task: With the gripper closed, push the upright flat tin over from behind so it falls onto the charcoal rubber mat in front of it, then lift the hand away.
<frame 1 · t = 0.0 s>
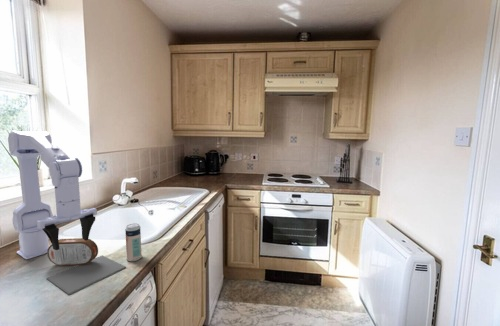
hand: (71, 244, 73), 10 cm above the worktop, tool pointing down, fingers open, 7 cm apart
tin: (73, 264, 80), on the worktop, touching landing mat
beer can: (134, 259, 84), on the worktop
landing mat: (87, 273, 75), on the worktop
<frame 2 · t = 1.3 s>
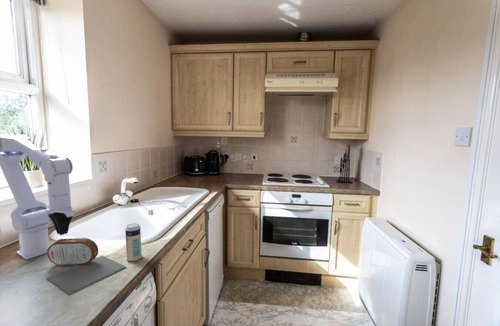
hand: (62, 233, 82), 9 cm above the worktop, tool pointing down, fingers closed
nothing on the worktop moved.
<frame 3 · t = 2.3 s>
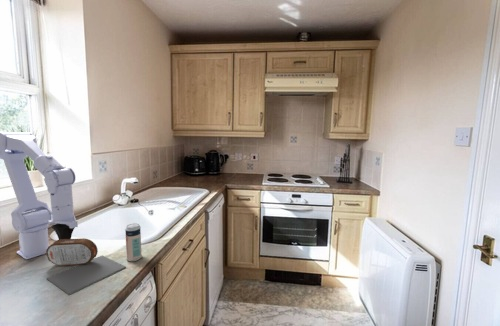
hand: (65, 244, 82), 6 cm above the worktop, tool pointing down, fingers closed
nothing on the worktop moved.
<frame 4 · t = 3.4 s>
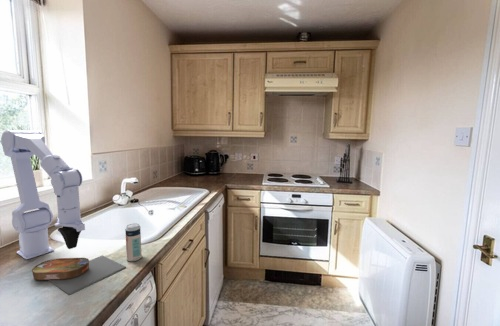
hand: (72, 247, 79), 6 cm above the worktop, tool pointing down, fingers closed
tin: (71, 262, 79), point 1 cm above the worktop, touching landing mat
everything else where it was.
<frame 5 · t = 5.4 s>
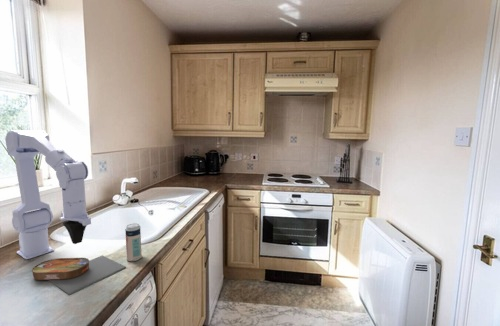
hand: (77, 242, 77), 9 cm above the worktop, tool pointing down, fingers closed
nothing on the worktop moved.
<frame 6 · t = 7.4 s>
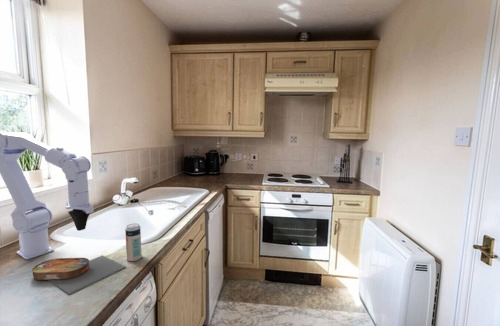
hand: (81, 229, 86), 9 cm above the worktop, tool pointing down, fingers closed
nothing on the worktop moved.
at the end: tin tilted 86°; tin touching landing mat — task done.
